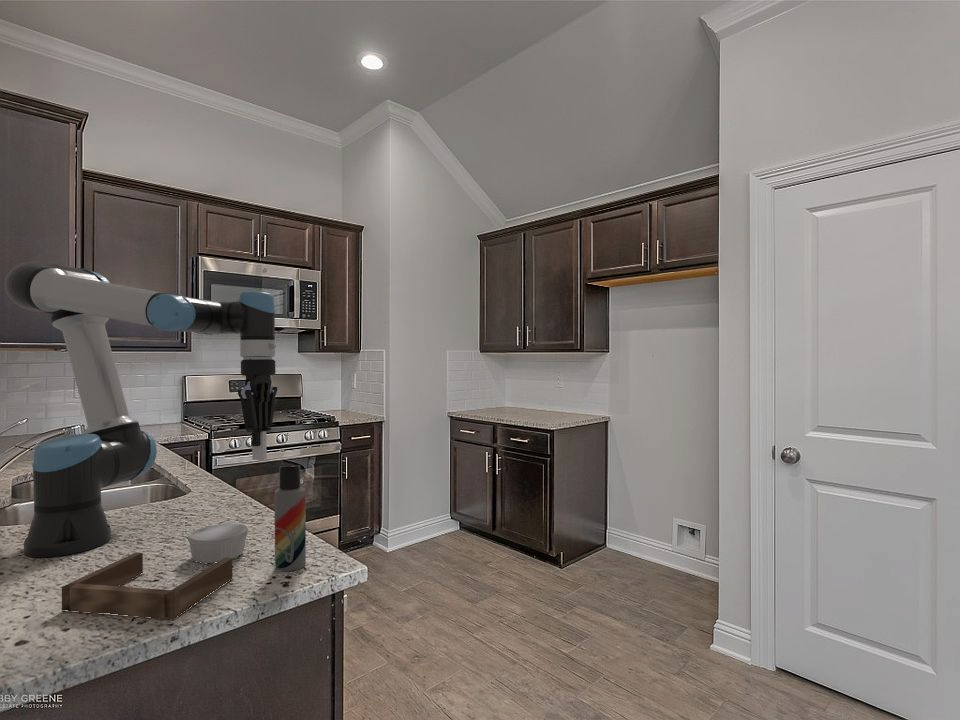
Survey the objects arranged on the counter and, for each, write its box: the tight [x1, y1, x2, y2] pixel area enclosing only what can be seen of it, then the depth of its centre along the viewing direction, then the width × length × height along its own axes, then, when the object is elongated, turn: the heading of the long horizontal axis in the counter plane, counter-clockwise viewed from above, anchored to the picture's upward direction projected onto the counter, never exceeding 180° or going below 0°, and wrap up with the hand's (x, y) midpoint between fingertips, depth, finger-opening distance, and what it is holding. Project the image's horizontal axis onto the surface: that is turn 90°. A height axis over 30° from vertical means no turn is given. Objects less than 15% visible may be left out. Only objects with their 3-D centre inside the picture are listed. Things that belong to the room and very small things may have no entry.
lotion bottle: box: [274, 464, 307, 572], centre depth 104 cm, size 6×6×20 cm
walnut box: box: [61, 552, 233, 620], centre depth 92 cm, size 20×15×4 cm
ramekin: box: [187, 522, 249, 563], centre depth 110 cm, size 11×11×5 cm
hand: (259, 459), depth 125 cm, fingers closed
